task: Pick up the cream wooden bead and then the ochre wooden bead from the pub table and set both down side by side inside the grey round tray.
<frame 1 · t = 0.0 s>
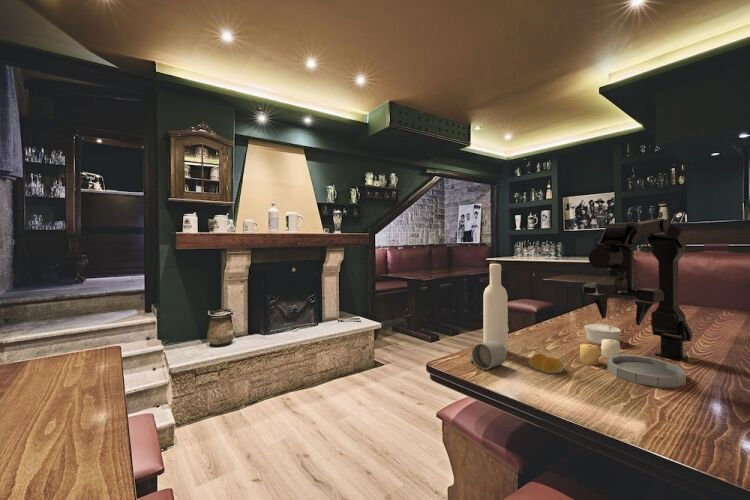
hand: (620, 321, 99), 15 cm above the table, tool pointing down, fingers open, 9 cm apart
round tray: (643, 374, 98), on the table
bottle: (495, 352, 119), on the table
ceramic mug: (485, 365, 107), on the table
ochre bead: (589, 362, 108), on the table
cream bead: (610, 356, 113), on the table
ramekin: (602, 342, 129), on the table
bread roll: (545, 369, 104), on the table
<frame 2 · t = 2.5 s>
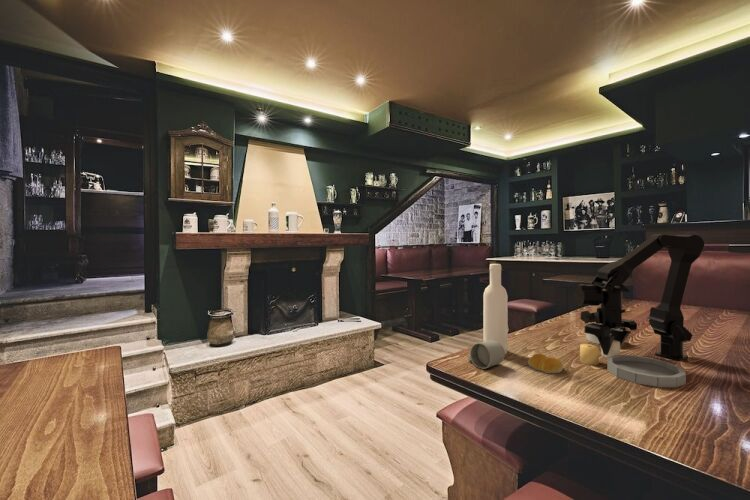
hand: (610, 353, 113), 1 cm above the table, tool pointing down, fingers closed on cream bead, 5 cm apart
cream bead: (610, 356, 113), on the table, touching gripper
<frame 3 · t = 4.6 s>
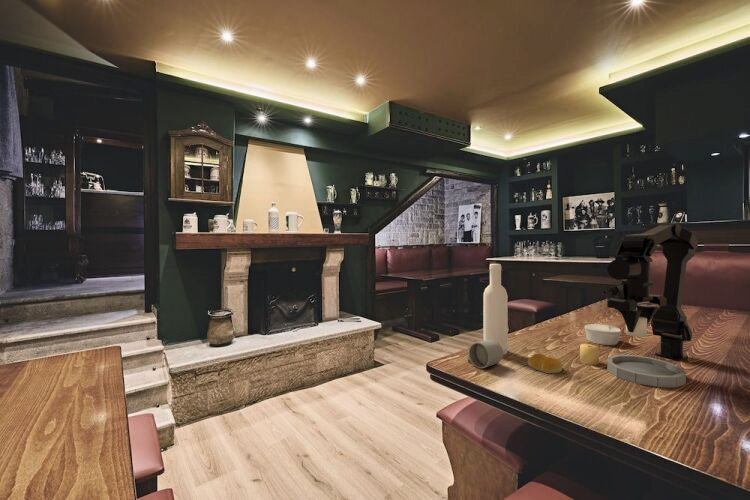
hand: (636, 331, 102), 11 cm above the table, tool pointing down, fingers closed on cream bead, 5 cm apart
cream bead: (636, 334, 102), point 10 cm above the table, touching gripper
when the fingers open (3 cm above the table, at t = 6.9 s): cream bead drops 1 cm, resting on round tray.
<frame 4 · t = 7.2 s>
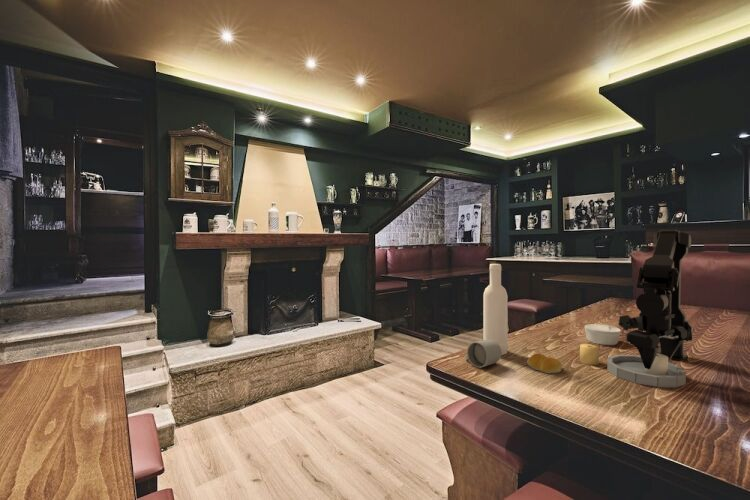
hand: (656, 365, 95), 3 cm above the table, tool pointing down, fingers open, 9 cm apart
cream bead: (656, 373, 95), point 1 cm above the table, touching round tray
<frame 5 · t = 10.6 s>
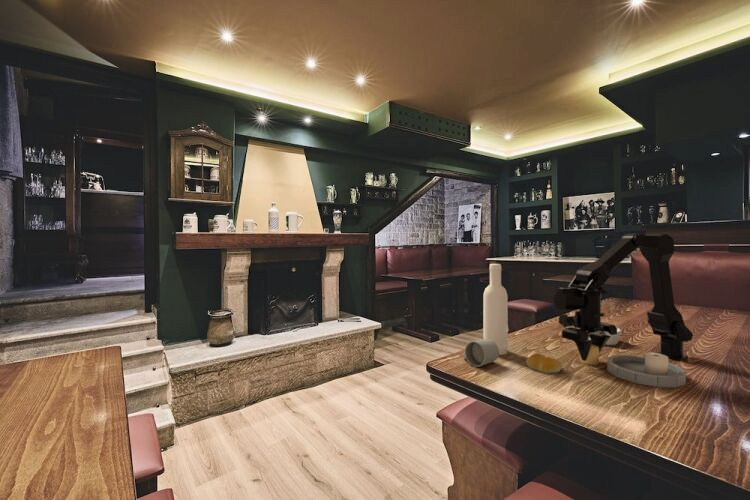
hand: (589, 358, 108), 1 cm above the table, tool pointing down, fingers closed on ochre bead, 5 cm apart
ochre bead: (589, 362, 108), on the table, touching gripper
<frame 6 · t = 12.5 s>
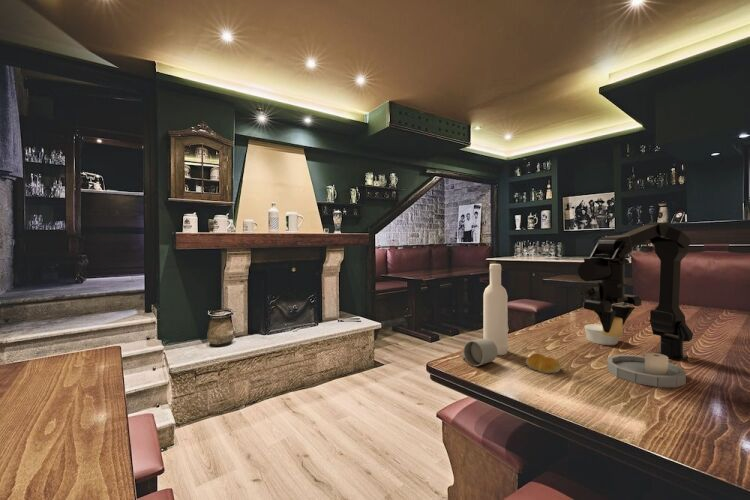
hand: (612, 331, 104), 11 cm above the table, tool pointing down, fingers closed on ochre bead, 5 cm apart
ochre bead: (612, 334, 104), point 10 cm above the table, touching gripper
when the fingers open (3 cm above the table, at t = 14.6 s): ochre bead drops 1 cm, resting on round tray.
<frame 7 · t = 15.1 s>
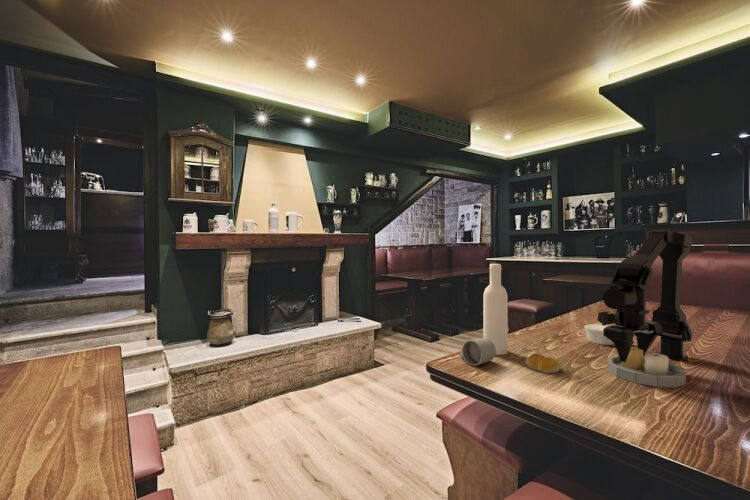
hand: (632, 359, 101), 3 cm above the table, tool pointing down, fingers open, 9 cm apart
ochre bead: (632, 366, 101), point 1 cm above the table, touching round tray
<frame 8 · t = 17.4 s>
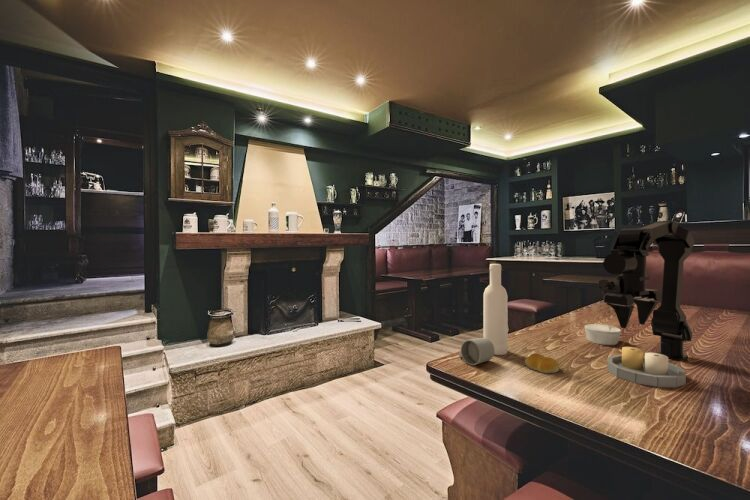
hand: (632, 326, 100), 13 cm above the table, tool pointing down, fingers open, 9 cm apart
at the end: cream bead inside the target area on the round tray (2.9 cm from its centre), point 1.2 cm above the round tray's base; ochre bead inside the target area on the round tray (3.0 cm from its centre), point 1.2 cm above the round tray's base; the gripper is holding nothing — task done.
